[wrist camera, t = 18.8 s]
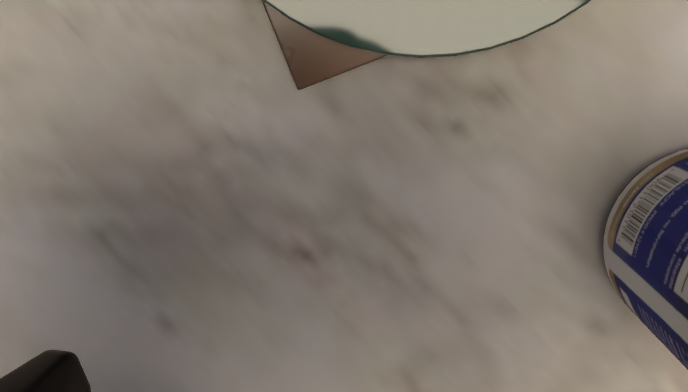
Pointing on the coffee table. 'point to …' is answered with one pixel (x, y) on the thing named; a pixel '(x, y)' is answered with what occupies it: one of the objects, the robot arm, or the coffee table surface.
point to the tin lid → (425, 23)
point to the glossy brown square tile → (314, 52)
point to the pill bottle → (653, 250)
